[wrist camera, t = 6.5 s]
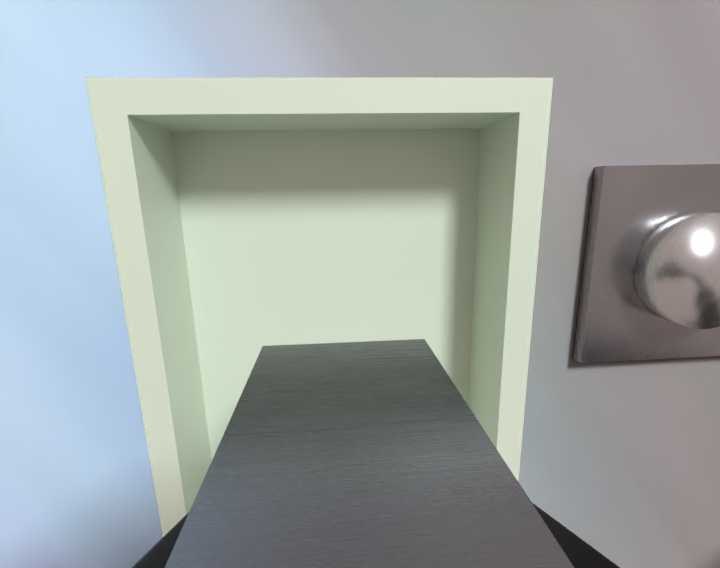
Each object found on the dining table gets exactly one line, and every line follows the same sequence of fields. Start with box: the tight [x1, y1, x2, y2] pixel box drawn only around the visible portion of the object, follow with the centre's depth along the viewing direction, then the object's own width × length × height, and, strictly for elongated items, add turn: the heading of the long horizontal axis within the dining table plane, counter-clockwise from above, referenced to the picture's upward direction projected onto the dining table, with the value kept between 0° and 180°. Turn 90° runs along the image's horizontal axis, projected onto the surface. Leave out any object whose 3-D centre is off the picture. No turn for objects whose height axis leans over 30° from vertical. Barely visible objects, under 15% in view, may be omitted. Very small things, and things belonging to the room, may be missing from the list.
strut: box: [165, 339, 574, 568], centre depth 6 cm, size 4×4×8 cm
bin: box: [86, 78, 553, 537], centre depth 16 cm, size 18×14×4 cm
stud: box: [573, 164, 720, 363], centre depth 17 cm, size 9×9×2 cm
